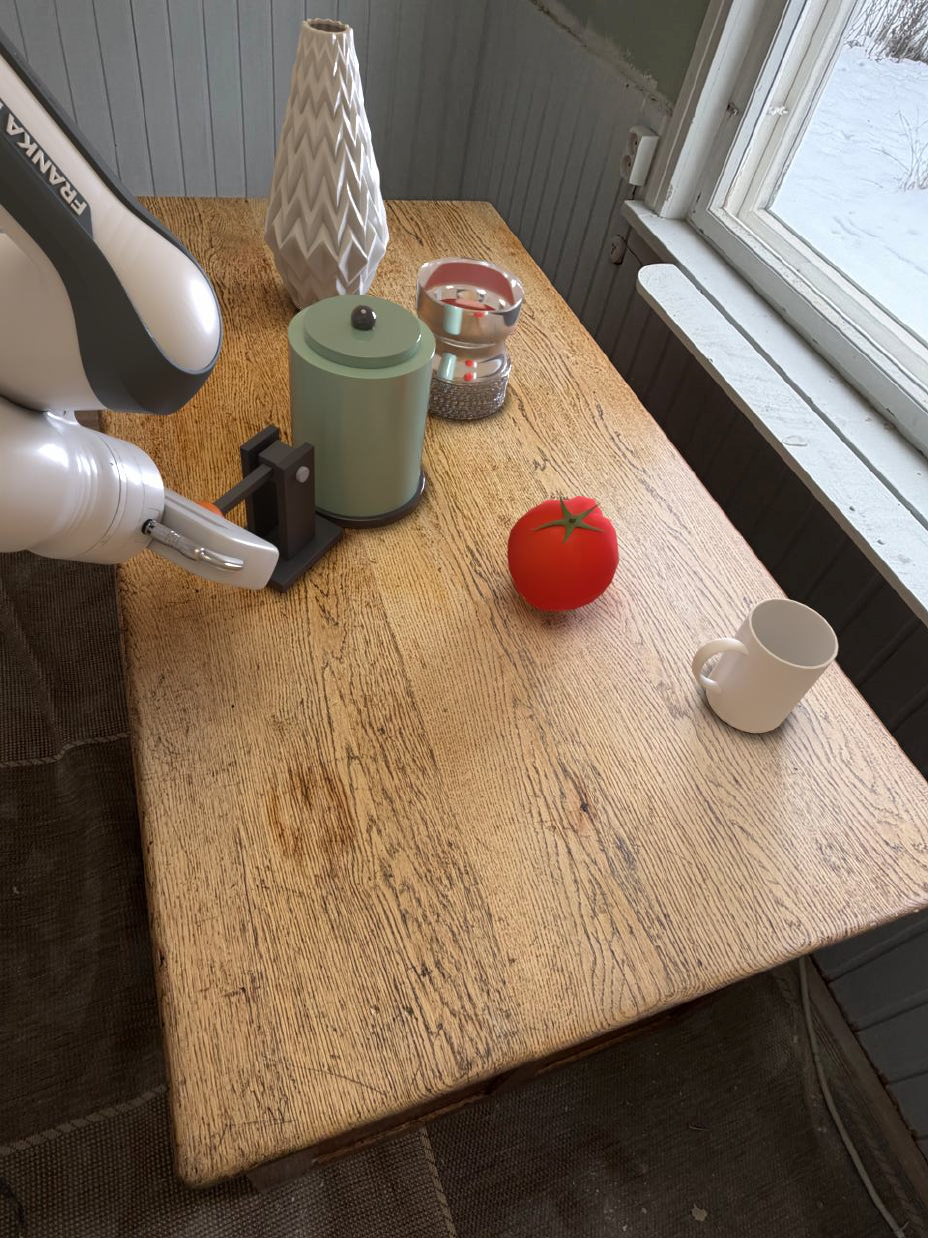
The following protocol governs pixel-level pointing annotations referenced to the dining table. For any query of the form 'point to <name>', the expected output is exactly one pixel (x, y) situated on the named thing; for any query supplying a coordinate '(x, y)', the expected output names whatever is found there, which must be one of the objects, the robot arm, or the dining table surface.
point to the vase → (325, 175)
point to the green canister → (361, 405)
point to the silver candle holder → (468, 333)
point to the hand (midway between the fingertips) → (210, 524)
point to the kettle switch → (251, 479)
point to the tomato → (562, 554)
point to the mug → (766, 664)
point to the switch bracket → (287, 509)
